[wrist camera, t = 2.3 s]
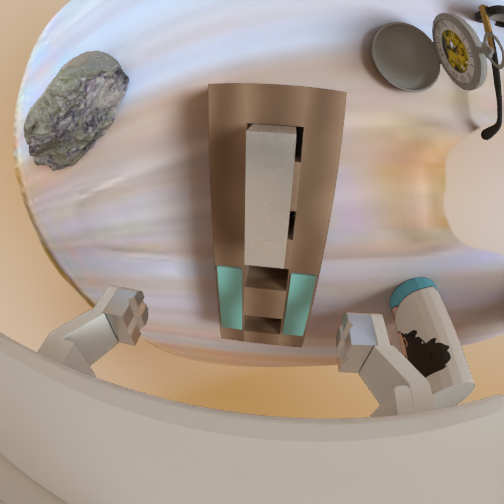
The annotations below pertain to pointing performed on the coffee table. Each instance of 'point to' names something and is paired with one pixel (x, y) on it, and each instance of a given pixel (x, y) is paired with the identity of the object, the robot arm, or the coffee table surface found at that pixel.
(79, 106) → the mineral rock
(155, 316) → the coffee table surface
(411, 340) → the cup
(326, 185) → the slotted brown block
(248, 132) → the tall white block
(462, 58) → the pocket watch
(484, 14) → the sunglasses
